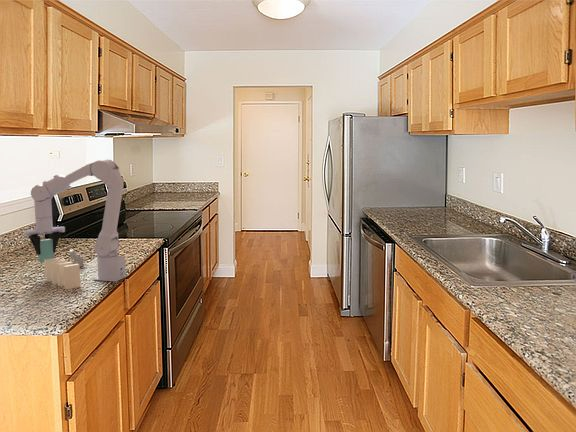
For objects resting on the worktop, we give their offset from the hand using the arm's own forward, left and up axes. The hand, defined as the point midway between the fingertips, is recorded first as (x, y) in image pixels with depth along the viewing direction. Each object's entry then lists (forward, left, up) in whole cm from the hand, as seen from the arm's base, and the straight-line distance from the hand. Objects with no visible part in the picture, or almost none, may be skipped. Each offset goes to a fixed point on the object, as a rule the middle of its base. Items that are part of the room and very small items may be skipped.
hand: (45, 253), depth 200 cm
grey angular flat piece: (-1, -17, -10) cm, 20 cm away
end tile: (0, 0, -3) cm, 3 cm away
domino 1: (-4, +2, -9) cm, 11 cm away
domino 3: (-13, +7, -9) cm, 18 cm away
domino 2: (-9, +5, -9) cm, 14 cm away
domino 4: (-17, +10, -9) cm, 22 cm away
